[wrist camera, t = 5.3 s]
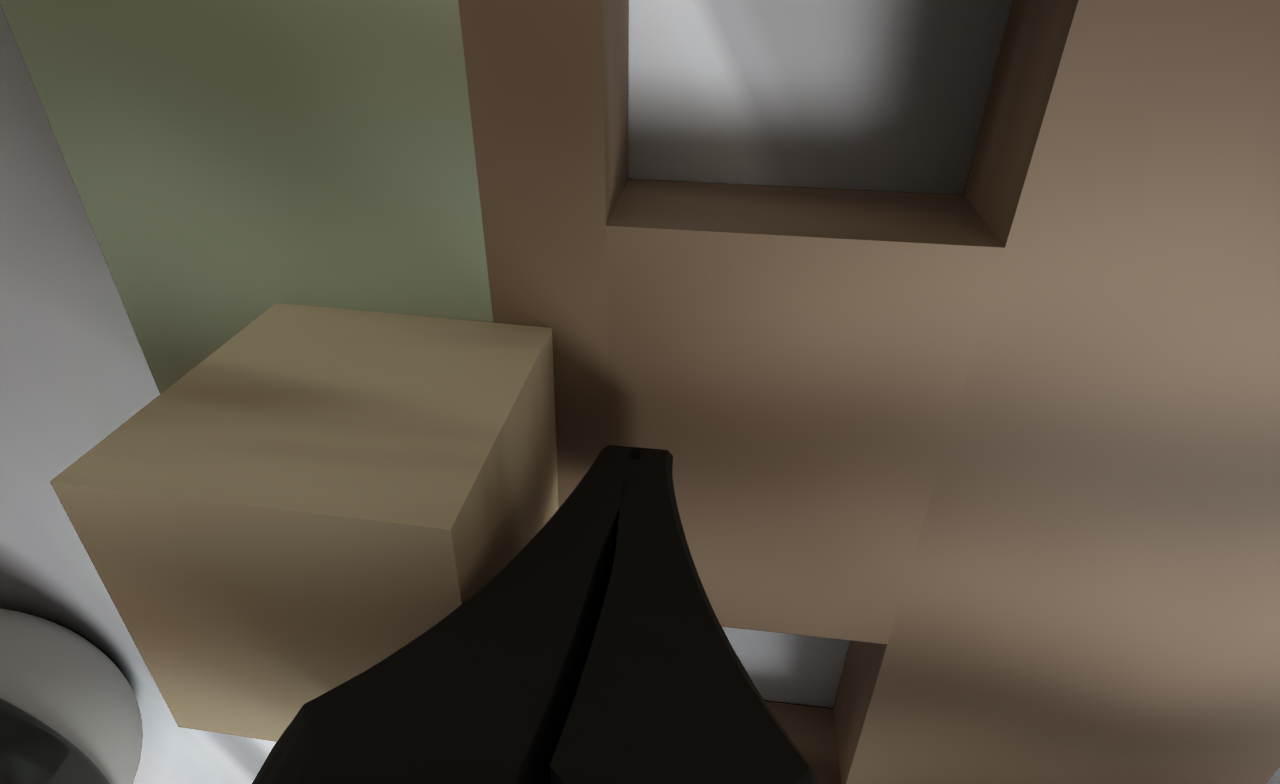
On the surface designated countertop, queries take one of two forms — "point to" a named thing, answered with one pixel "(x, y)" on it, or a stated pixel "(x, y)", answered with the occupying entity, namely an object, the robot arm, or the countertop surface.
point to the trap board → (791, 335)
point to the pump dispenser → (63, 708)
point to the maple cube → (315, 501)
